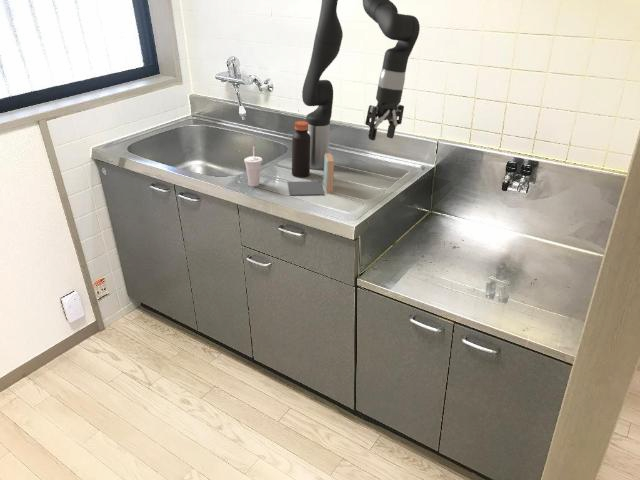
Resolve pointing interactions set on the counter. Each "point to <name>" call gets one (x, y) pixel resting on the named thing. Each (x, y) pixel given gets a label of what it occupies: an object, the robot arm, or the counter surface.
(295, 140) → the bottle
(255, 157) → the smoothie
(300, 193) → the mat
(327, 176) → the tile
